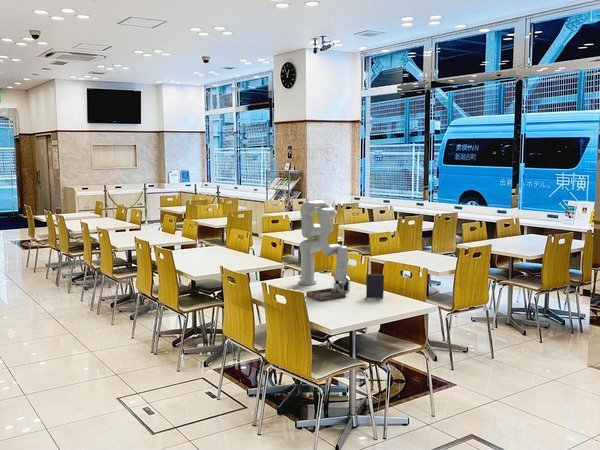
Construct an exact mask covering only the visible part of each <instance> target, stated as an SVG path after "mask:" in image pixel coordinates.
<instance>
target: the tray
mask: <svg viewBox="0 0 600 450" xmlns="http://www.w3.org/2000/svg"><path fill="white" fill-rule="evenodd" d="M346 293H347V292H342V291H339V290H336V289H333V287H329V288H322V289H315V290H310V291H309V290H308V291H306V294H305V295H306V298H307V297H308V298H310V299H313V300H316V301H318V302H324V301H325V302H326V301H330V300H338V299H345V298H346V296H347V294H346Z"/></svg>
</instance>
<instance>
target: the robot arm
mask: <svg viewBox="0 0 600 450" xmlns="http://www.w3.org/2000/svg"><path fill="white" fill-rule="evenodd" d="M313 213H314V214H316V216H317V219H318V223H314V217H313ZM300 217H301V235H302V237H303V238H305V239H304V240H302V241H301V242H300V243H299V251H300V276H299V279H300V280H299V281H298V284H299V285H302V286H311V285H312V286H314V285H316V284H317V281H316V280H315V257H314V255H313V253H318V252H320V251H322V254H323V255H324V256H326V257H331V256H332V257H333V256H336V259H335V260H336V264H335V268H334V274H333V280H334V283H340V282H344V291H347V290H348V285H349V283H350V281H351V279H350V277H349V267H348V262H349V261H348V260H349V259H348V258H349V257H348V256H349V255H348V253H349V251H348V250H349V248H348V246H347V245H341V244H339V243H333V244H332V243H331V244H329V239H328V238H329V235H330V233H332V232H333V231H334V229H335V228H334V224H333V221H332V220H334V219H335V218H336V217H337V212H336V209H335V208H334V207H332V205H330V204H329V203H327V202H325V201H323V200H321V199H320V200H308V201H305V202H303V203H302V204H301V205H300ZM307 238H308V239H307ZM311 238H312V239H311ZM345 282H346V283H345Z"/></svg>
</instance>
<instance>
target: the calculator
mask: <svg viewBox="0 0 600 450" xmlns="http://www.w3.org/2000/svg"><path fill="white" fill-rule="evenodd" d="M384 282H385V275H384V274H380V273H379V274H378V273H367V274H366V286H365V287H366V291H365V292H366V294H365V296H366V298H373V299H375V298H377V299H379V298H380V299H383V298H384V287H385V286H384V285H385V283H384Z"/></svg>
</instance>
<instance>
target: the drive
mask: <svg viewBox="0 0 600 450" xmlns="http://www.w3.org/2000/svg"><path fill="white" fill-rule="evenodd" d="M345 283H346V282H345ZM350 285H351V284H350V282H349V285H348V290H347V291H344V282H341V281H339V283H335V282H334V283H333V287H332V288H333V289H336V290H339V291H342V292H344V293H350V291H351V290H350V289H351V287H350Z"/></svg>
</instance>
